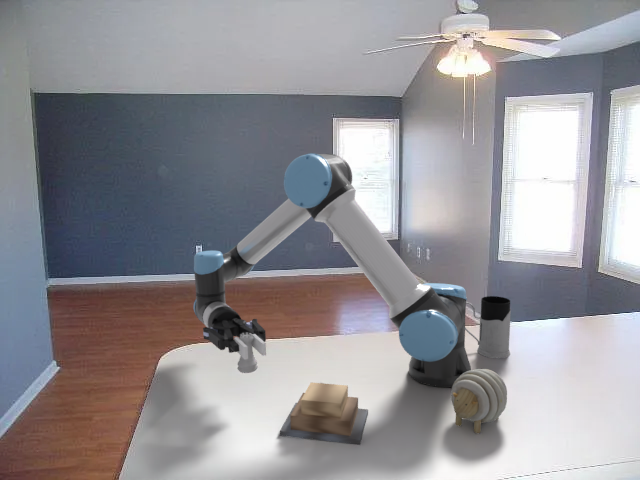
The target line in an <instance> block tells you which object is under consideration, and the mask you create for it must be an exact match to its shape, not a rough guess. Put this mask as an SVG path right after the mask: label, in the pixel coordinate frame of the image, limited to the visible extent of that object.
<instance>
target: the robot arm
mask: <svg viewBox="0 0 640 480" xmlns="http://www.w3.org/2000/svg"><path fill="white" fill-rule="evenodd" d="M352 183H353V172H352V169H351V167H350V165H349V163H348V162H347V161H346V160H345V159H344V158H343V157H341V156H340V155H337V154H334V153H321V154H320V153H313V152H312V153H306V154H303V155H302V154H301V155H300V156H297V157H296V158H294V159H293V160H292V161H291V162H290V163H289V164H288V166H287V167H286V169H285V172H284V177H283V188H284V192H285V194H286V196H287V199H286V200H285V201H283V202H282V203H281V204H280V205H279V206H278V207H277V208H276V209H275V210H274V211H272V213H270V214H269V215H268V216H267V217H266V218H265V219H264V220H263V221H261V222H260V223H259V224H258V225H257V226H255V227H254V229H253V230H251V231H250V232H249V233H248V234H247V235H246V236H245V237H243V239H241V240H240V241H239V242H238V243H237V244H236V245H234V247H233V248H231V249H230V250H229V251H228V252H226V253H223V252H221V251H219V250H204V251H199V252H197V253H195V255H194V256H193V273H194V283H195V300H194V302H193V312H194V314H195V316H196V318H197V319H198V320H199V321H200V322H201V323H202V324H203V325H204V327H203V328H202V333H203V339H204V340H207V341H209V342H211V343H212V344H213V345H214V346H215V347H216V348H218V349H219V350H220V351H224V350H226V349H227V348H228V353H229V354H230V353H231V354H232V353H237V354H238V355H239V356H240V357H241V356H242V357H243V359H244V360H245V359H248V347H247V346H246V345H245V344H244V343H243V342H242V341H241V340H240V339H239V338H240V334H242V333H244V335H246V332H248V335H249V333H251V334H252V336H253V338H254V339H253V341H252V344H253V346H252V348H254V350H256V351H257V352H258V353H259V354H261V356H262V357H263V356H267V345H266V341H267V340H266V338H267V337H266V336H267V333H266V330H265V328H263V327H262V325H261V324H260V323H259V322H258V319H257V318H253V319H252V320H250V321H248V322H247V321H246V320H245V319H242V318H241V315H240V314H239V313H238V312H237V311H236V310H234V309H233V308H232V307H231V306H229V305H228V304H227V303H226V283H228V282H229V281H232V280H235V279H238V278H239V277H243V276H245V275H246V274H249V273H250V272H252V270H253V269H254V267H255V265H256V264H257V263H259V261H260V260H262V259H263V258H264V257H266V256H267V255H268V254H269V253H270V252H271V251H272V250H273V249H275V248H276V247H277V246H278V245H280V244H281V242H283V241H285V239H287V238H288V237H289V236H290V235H291V234H293V232H295V231H296V230H297V229H298V228H300V227H301V226H302V225H303V224H304V223H306V222H307V221H308V220H309V219H310V218H311V217H312V219H313V220H314V221H315V222H318V223H324V224H325V225H326V226H327V227H328V228H329V230H330V231H331V233H332V234H333V235H334V236H335V238H336V239H337V241H338V242H339V243H340V244H341V246H342V247H343V248H344V249H345V251H346V252H347V253H348V255H349V256H350V257H351V259H352V260H353V261H354V263H356V265H357V266H358V268H359V269H360V270H361V272H363V274H364V276H366V279H368V281H369V282H370V283H371V285H372V286H373V287H374V288H375V290H376V292H378V294H379V295H380V296H381V297H382V299H383V300H384V302H385V303H386V304H387V306H388V307H389V311H388V312H389V315H388V318H389V319H390V321H391V322H392V323H393V324H394V326H395V327H396V328H397V330H398V340H399V342H400V344H401V347H402V348H403V350H404V351H405V352H406V354H408V355H409V356H411V358H410V361H409V363H408V373H409V376H410V377H411V378H412V379H413V380H415V381H416V382H418V383H420V384H424V385H426V386H431V387H436V388H452V386H453V384H454V382H455V381H456V379H457V378H459V377H460V375H462V374H463V373H465V372H467V371H470V370H472V366H471V363H470V360H469V357H468V353H467V349H466V347H465V346H466V345H465V342H466V341H465V339H466V338H465V337H466V330H465V328H466V309H467V306H466V304H467V303H466V302H468V298H467V291H466V289H465V288H464V286H461V285H456V284H450V283H449V284H448V283H438V282H437V283H436V282H434V283H433V282H430V283H421V282H420V281H419V280H418V279H417V277H416V276H415V275H414V273H413V272H412V271H411V269H409V267H408V266H407V265H406V263H405V262H404V261H403V259H402V258H401V257H400V256H399V254H398V253H397V252H396V251H395V249H394V248H393V247H392V246H391V245H390V243H389V242H388V241H387V238H385V237H384V235H383V234H382V233H381V231H380V230H379V229H378V227H377V226H376V225H375V223H374V222H373V221H372V220H371V219H370V218H369V216H368V215H367V214H366V212H365V211H364V210H363V209H362V207H361V206H360V204H358V202H357V201H356V199H355V197H356V188H355V187H354V186H353V185H352Z"/></svg>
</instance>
